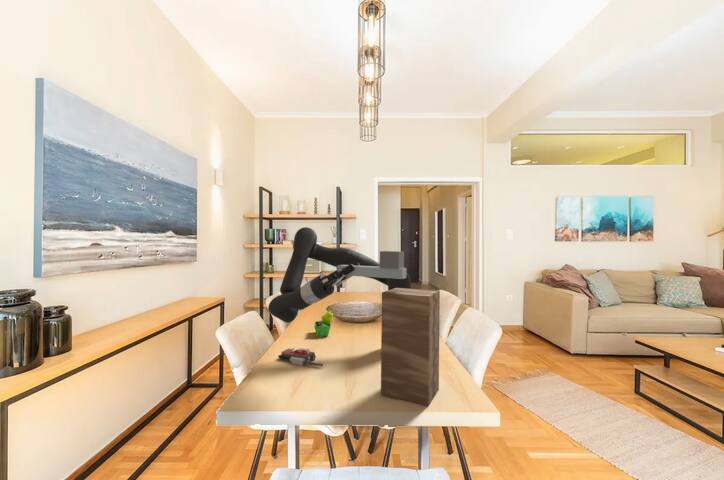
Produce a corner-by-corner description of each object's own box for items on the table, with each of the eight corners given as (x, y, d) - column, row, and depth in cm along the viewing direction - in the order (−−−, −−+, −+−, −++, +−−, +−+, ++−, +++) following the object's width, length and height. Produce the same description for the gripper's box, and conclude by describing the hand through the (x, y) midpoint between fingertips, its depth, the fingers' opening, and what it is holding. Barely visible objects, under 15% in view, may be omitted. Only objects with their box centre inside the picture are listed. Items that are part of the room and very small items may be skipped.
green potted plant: (314, 331, 170) (314, 308, 170) (332, 331, 171) (332, 308, 171) (314, 337, 158) (314, 313, 158) (333, 337, 159) (333, 313, 159)
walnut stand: (395, 381, 110) (396, 287, 110) (438, 389, 104) (439, 290, 104) (380, 396, 99) (381, 292, 99) (428, 406, 93) (429, 296, 93)
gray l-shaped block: (343, 273, 115) (344, 249, 115) (406, 277, 105) (407, 251, 105) (336, 274, 110) (336, 250, 110) (401, 279, 101) (401, 251, 101)
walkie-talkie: (274, 362, 127) (321, 370, 120) (274, 350, 127) (321, 357, 120) (287, 354, 136) (333, 362, 128) (288, 343, 136) (333, 350, 128)
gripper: (300, 281, 111) (340, 256, 104) (323, 277, 124) (361, 255, 117) (309, 302, 109) (351, 278, 103) (332, 296, 122) (370, 274, 115)
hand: (356, 266), depth 110 cm, fingers closed on gray l-shaped block, 4 cm apart
